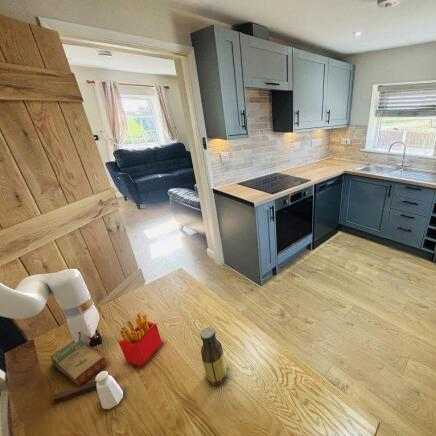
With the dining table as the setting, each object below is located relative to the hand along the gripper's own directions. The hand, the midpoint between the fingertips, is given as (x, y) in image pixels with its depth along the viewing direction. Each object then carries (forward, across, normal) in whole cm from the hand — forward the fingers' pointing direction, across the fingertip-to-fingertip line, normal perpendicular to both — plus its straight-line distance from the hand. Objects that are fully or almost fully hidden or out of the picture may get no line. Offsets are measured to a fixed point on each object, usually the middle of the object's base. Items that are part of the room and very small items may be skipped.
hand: (97, 343), depth 84 cm
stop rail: (+2, +16, 0) cm, 16 cm away
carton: (+2, +5, -4) cm, 7 cm away
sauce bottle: (+3, +27, +37) cm, 46 cm away
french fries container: (+2, +9, +15) cm, 18 cm away
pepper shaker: (+2, +22, +8) cm, 24 cm away
